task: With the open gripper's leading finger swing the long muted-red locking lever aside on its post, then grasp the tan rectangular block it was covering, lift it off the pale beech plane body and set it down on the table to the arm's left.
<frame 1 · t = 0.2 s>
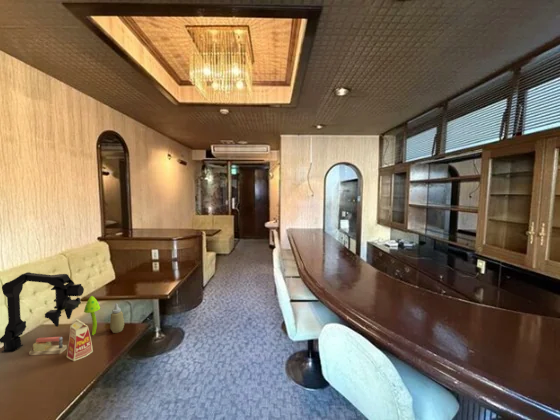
hand: (63, 322, 154), 14 cm above the table, fingers open, 9 cm apart
squeeze bottle: (117, 331, 170), on the table
mushroom: (93, 334, 166), on the table
milk carton: (80, 355, 145), on the table
plane body: (48, 351, 148), on the table
tan rectangular block: (42, 348, 148), point 2 cm above the table, touching plane body
lever: (49, 339, 148), point 7 cm above the table, hinge at 0.0°
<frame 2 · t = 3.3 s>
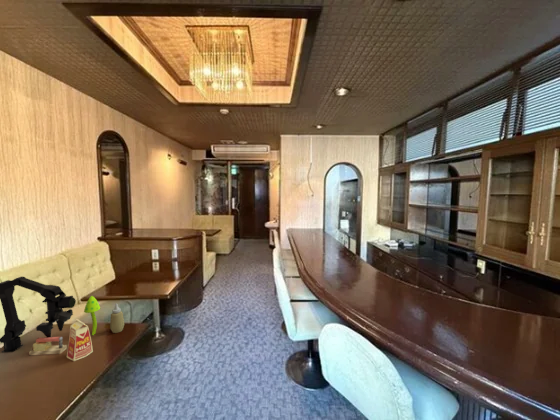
hand: (55, 334, 153), 7 cm above the table, fingers open, 8 cm apart
lever: (49, 339, 148), point 7 cm above the table, hinge at 0.0°, touching gripper
everything else where it was.
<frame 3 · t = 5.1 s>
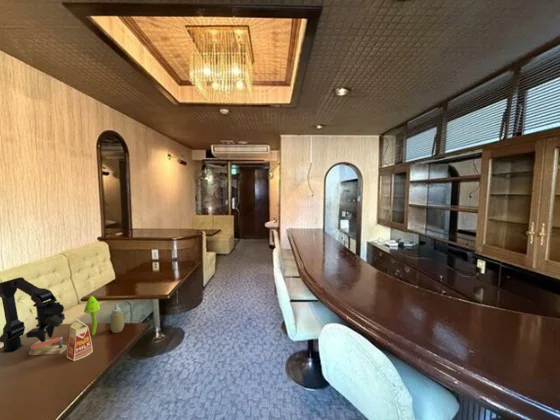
hand: (47, 340, 147), 7 cm above the table, fingers open, 5 cm apart
lever: (47, 342, 144), point 7 cm above the table, hinge at 38.5°, touching gripper
everything else where it was.
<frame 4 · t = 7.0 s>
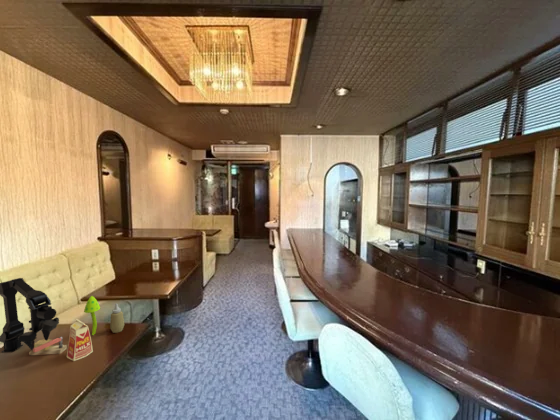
hand: (39, 344, 143), 7 cm above the table, fingers open, 9 cm apart
lever: (48, 344, 143), point 7 cm above the table, hinge at 63.3°
everything else where it was.
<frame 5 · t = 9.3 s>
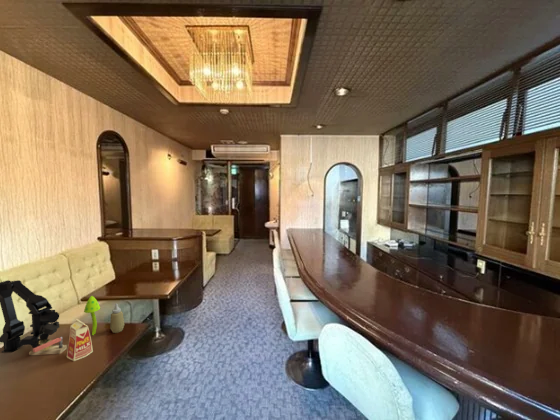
hand: (40, 348, 147), 2 cm above the table, fingers closed on tan rectangular block, 4 cm apart
tan rectangular block: (42, 348, 148), point 2 cm above the table, touching gripper, plane body
everything else where it was.
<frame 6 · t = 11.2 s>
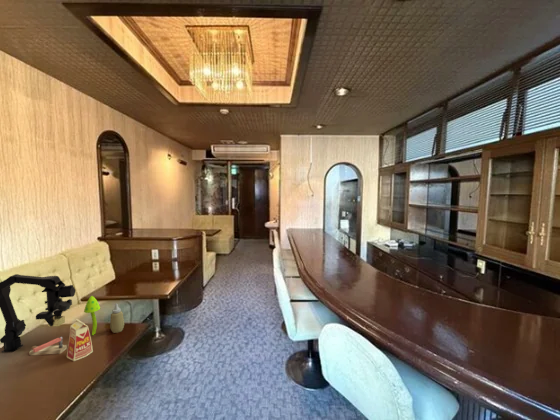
hand: (54, 323, 155), 12 cm above the table, fingers closed on tan rectangular block, 4 cm apart
tan rectangular block: (56, 324, 155), point 12 cm above the table, touching gripper
everything else where it was.
when the fingers open (2 cm above the table, at t = 13.5 s): tan rectangular block drops 2 cm, on the table.
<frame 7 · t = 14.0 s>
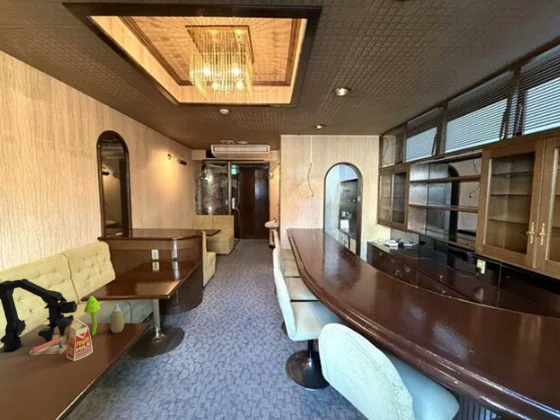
hand: (56, 339, 157), 2 cm above the table, fingers open, 9 cm apart
tan rectangular block: (58, 343, 157), on the table
everything else where it was.
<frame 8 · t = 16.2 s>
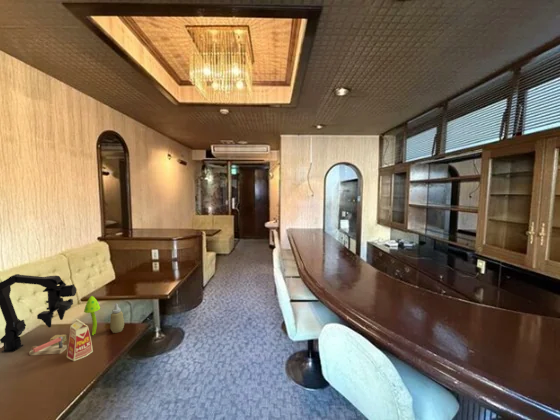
hand: (55, 323, 156), 12 cm above the table, fingers open, 9 cm apart
nothing on the table moved.
at the end: lever at +63° (first picture: +0°); tan rectangular block inside the target area (1.1 cm from its centre), on the table; tan rectangular block touching table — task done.
